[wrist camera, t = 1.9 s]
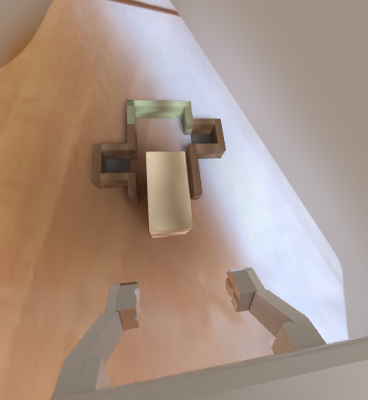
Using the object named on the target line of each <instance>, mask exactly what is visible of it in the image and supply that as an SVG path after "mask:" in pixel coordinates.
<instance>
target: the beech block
mask: <svg viewBox="0 0 368 400" xmlns="http://www.w3.org/2000/svg"><path fill="white" fill-rule="evenodd" d="M146 165H147V188H148V212H149V232H150V234H151V236H152V238H156V237H168V236H179V235H184V234H186V233H187V232H188V231H190V230H191V229H192V228H193V222H192V212H191V203H190V194H189V185H188V176H187V166H186V157H185V151H174V152H146Z"/></svg>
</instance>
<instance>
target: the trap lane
mask: <svg viewBox="0 0 368 400" xmlns="http://www.w3.org/2000/svg"><path fill="white" fill-rule="evenodd" d="M136 118H183V125H184V134H185V135H191V137H192V144H189V146H188V150H187V161H188V170H189V179H190V188H191V197H192V199H199V197H200V196H201V194H202V187H201V179H200V172H199V164H198V159H203V158H221V156H222V155H223V153H224V152H225V150H226V148H225V142H224V136H223V131H222V125H221V120H220V119H193V117H192V110H191V102H190V101H152V100H127V143H121V144H94V146H93V167H92V182H93V183H94V184H95V185H96V186H97V187H98V188H113V187H128V198H129V200H130V202H131V203H133V202H139V200H138V178H137V175H136V172H132V173H130V159H137V127H136ZM106 169H107V173H106Z"/></svg>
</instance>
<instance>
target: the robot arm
mask: <svg viewBox="0 0 368 400" xmlns="http://www.w3.org/2000/svg"><path fill="white" fill-rule="evenodd" d="M227 275H228V278H227V279H226V288H227V291H228V294H229V295H230V296H231V297H232V301H231V302H232V304H233V307H234V309H235V311H236V312H240V311H248V310H249V312H250V313H251V314H252V315H253V316H254V317H255V318H256V319H257V320H258V321H259V322H260V323H261V324H263V325H264V326H265V327H266V328H267V329H268V330H269V331H270V332H271V333H272V334H273V335H274V336H275V337H276V338H275V340H274V342H273V344H272V347H271V348H272V350H273V352H274V354H273V355H268V356H264V357H259V358H254V359H249V360H244V361H239V362H234V363H229V364H224V365H219V366H214V367H209V368H204V369H199V370H194V371H189V372H184V373H179V374H174V375H169V376H164V377H159V378H154V379H149V380H144V381H139V382H134V383H129V384H124V385H119V386H114V387H109V386H110V377H109V375H108V372H107V370H106V368H105V363H106V361H107V359H108V358H109V356H110V354H111V352H112V351H113V349H114V347H115V346H116V344H117V342H118V340H119V339H120V337H121V335H122V333H123V332H124V331H123V330H128V329H133V328H138V327H139V322H140V312H139V308H140V303H141V296H140V290H139V282H130V283H120V284H112V285H111V287H110V291H109V296H108V300H107V305H106V309H105V313H103V314H101V315H100V317H99V318H98V319H97V320H96V322H95V323H94V324H93V325H92V326H91V328H90V329H89V330H88V331H87V333H86V334H85V335H84V336H83V338H82V339H81V340H80V341H79V342H78V344H77V345H76V346H75V347H74V349H73V350H72V351H71V352H70V354H69V355H68V356H67V357H66V358H65V360H64V363H63V366H62V369H61V372H60V375H59V377H58V380H57V383H56V386H55V389H54V392H53V395H52V398H51V399H50V400H368V336H363V337H358V338H353V339H348V340H343V341H338V342H333V343H328V344H326V342H325V341H324V340H323V338H322V337H321V335H320V334H319V333H318V331H317V330H316V329H315V327H314V326H313V324H312V323H311V322H310V320H309V319H308V318H307V317H306V316H305V315H303V314H302V313H300V312H299V311H297V310H296V309H295V308H293V307H292V306H290V305H289V304H287V303H286V302H285V301H283V300H282V299H280V298H279V297H277V296H276V295H275V294H273V293H272V292H270V291H269V290H265V288H264V286H263V285H262V283H261V281H260V280H259V278H258V277H257V275H256V273H255V272H254V270H253V269H252V268H244V269H243V268H242V269H235V270H229V271H228V273H227Z"/></svg>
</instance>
